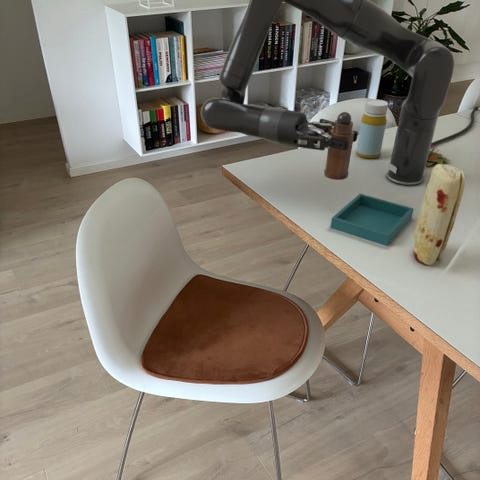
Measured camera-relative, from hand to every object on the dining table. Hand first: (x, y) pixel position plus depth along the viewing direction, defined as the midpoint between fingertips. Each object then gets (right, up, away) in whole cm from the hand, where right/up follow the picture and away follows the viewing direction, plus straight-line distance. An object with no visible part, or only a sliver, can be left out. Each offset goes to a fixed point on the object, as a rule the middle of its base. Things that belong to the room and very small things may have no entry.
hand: (352, 140), depth 115 cm
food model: (+14, -26, -4) cm, 30 cm away
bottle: (+13, +10, +41) cm, 44 cm away
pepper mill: (-2, -6, +6) cm, 9 cm away
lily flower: (+31, +7, +38) cm, 50 cm away
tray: (+6, -17, +7) cm, 19 cm away
